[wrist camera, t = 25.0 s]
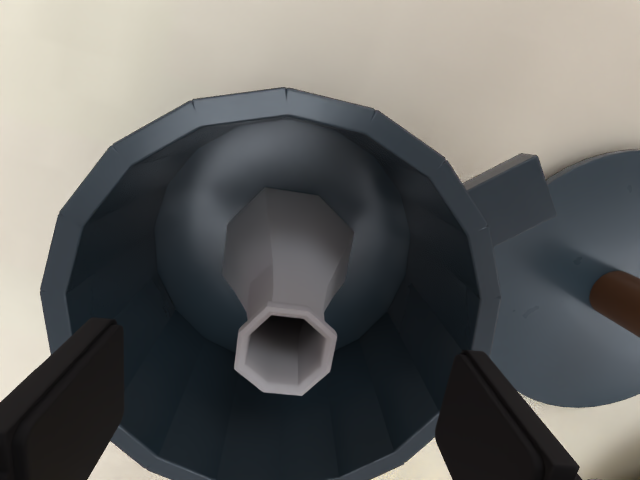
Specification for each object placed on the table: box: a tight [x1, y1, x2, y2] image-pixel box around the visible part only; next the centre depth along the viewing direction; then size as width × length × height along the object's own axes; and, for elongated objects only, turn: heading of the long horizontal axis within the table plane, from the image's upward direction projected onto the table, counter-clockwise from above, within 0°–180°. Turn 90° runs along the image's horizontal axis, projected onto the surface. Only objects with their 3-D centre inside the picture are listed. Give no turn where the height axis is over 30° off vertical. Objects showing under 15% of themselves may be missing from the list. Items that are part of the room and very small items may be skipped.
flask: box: [222, 187, 354, 396], centre depth 17 cm, size 7×7×10 cm
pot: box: [40, 87, 557, 480], centre depth 18 cm, size 16×21×9 cm
